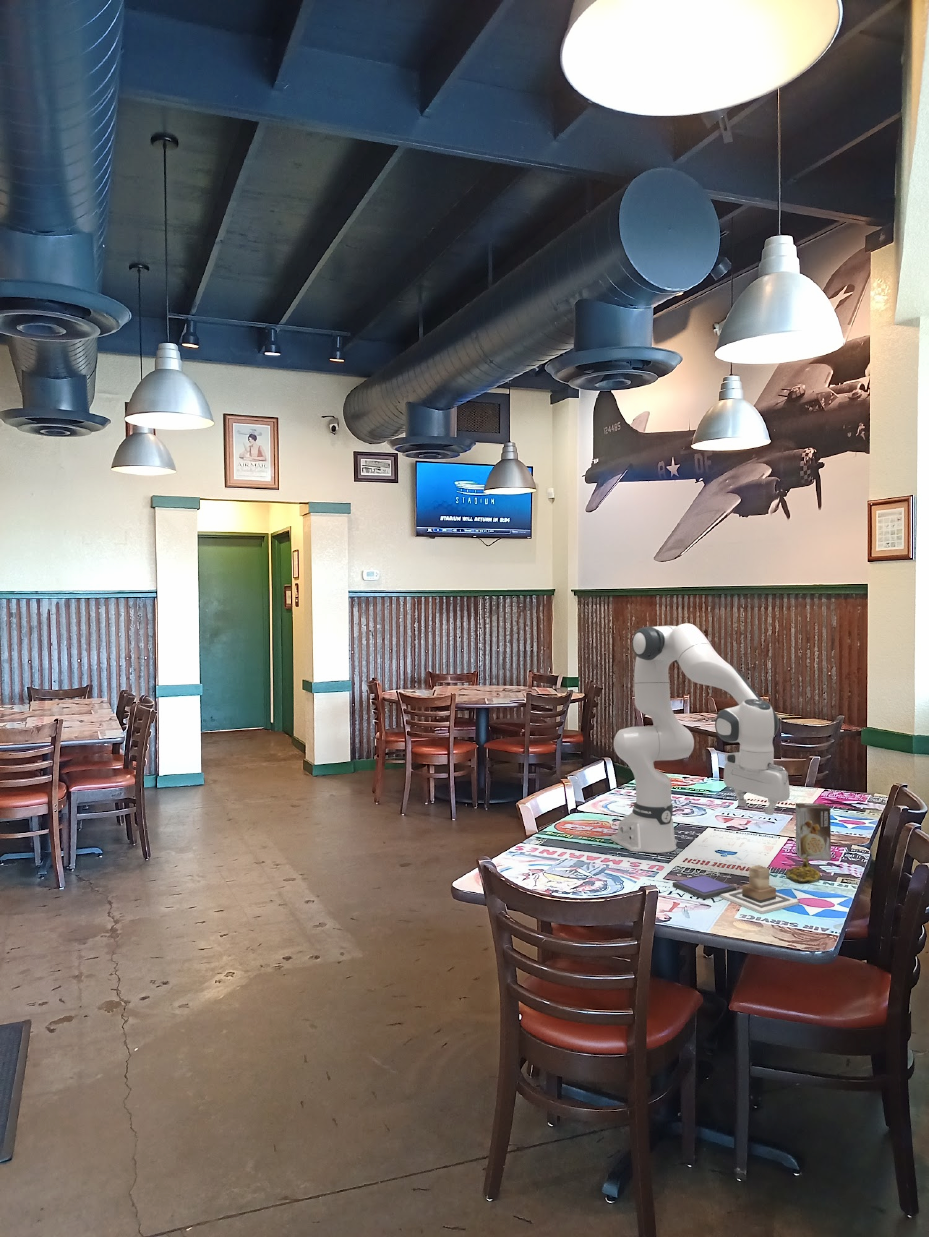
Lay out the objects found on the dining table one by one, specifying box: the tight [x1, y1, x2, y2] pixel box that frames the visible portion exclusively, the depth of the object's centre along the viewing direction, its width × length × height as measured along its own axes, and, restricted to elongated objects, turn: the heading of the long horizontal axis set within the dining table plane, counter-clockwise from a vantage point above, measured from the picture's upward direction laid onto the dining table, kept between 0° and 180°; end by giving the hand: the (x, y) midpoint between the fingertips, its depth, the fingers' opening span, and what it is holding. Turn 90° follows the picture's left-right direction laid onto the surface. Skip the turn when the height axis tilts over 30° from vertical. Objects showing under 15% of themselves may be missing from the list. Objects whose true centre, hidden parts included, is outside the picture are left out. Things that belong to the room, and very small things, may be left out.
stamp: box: [741, 864, 777, 903], centre depth 232 cm, size 6×6×8 cm
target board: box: [720, 889, 800, 915], centre depth 232 cm, size 14×14×1 cm
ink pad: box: [672, 874, 737, 900], centre depth 241 cm, size 12×12×2 cm
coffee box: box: [795, 802, 832, 861], centre depth 269 cm, size 9×6×16 cm
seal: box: [785, 857, 822, 884], centre depth 251 cm, size 9×5×15 cm
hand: (755, 810), depth 238 cm, fingers open, 8 cm apart
